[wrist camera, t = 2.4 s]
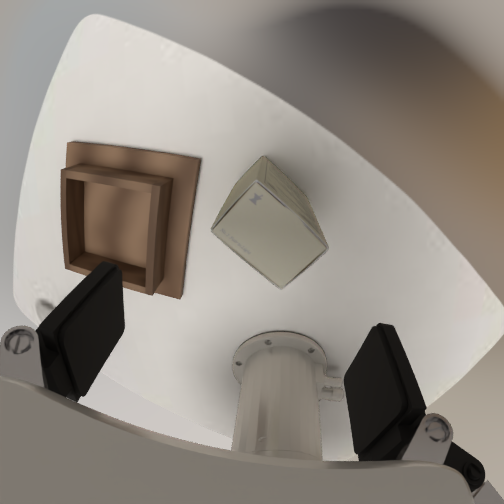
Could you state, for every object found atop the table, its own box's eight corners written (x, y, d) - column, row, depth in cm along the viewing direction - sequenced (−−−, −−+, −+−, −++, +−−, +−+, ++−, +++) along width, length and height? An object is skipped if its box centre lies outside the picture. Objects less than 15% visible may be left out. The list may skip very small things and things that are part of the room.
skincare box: (233, 185, 28) (203, 229, 18) (264, 153, 27) (254, 175, 16) (279, 228, 30) (279, 294, 19) (311, 197, 28) (331, 249, 17)
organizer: (201, 158, 28) (187, 165, 23) (182, 294, 34) (170, 317, 30) (72, 141, 27) (47, 147, 23) (73, 263, 34) (54, 279, 30)
